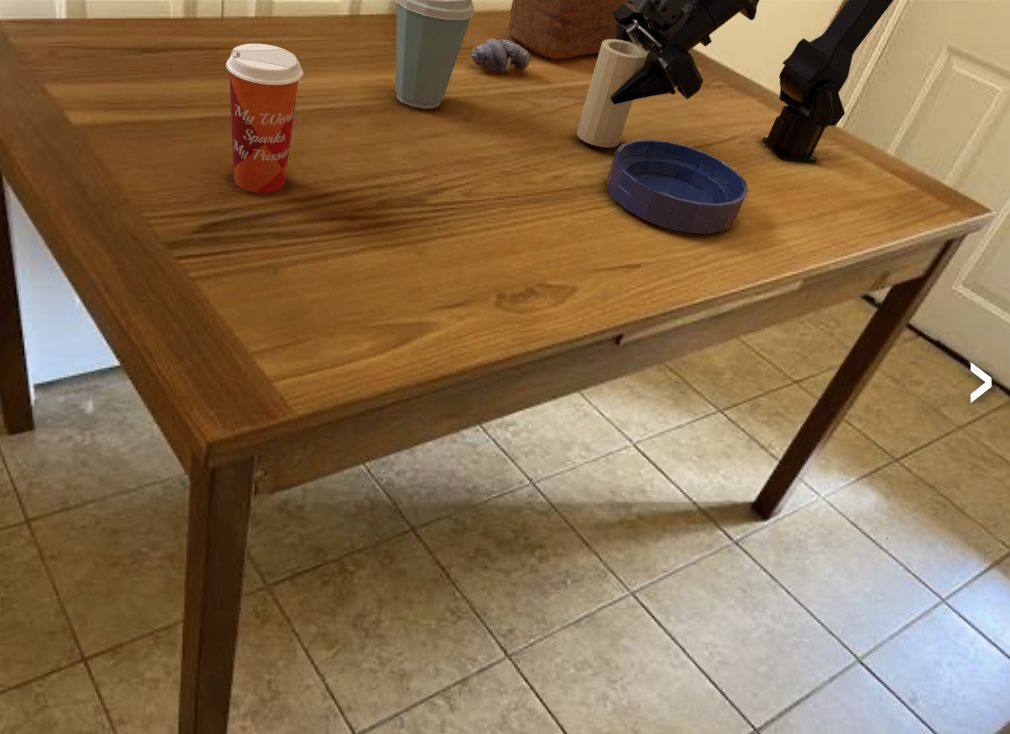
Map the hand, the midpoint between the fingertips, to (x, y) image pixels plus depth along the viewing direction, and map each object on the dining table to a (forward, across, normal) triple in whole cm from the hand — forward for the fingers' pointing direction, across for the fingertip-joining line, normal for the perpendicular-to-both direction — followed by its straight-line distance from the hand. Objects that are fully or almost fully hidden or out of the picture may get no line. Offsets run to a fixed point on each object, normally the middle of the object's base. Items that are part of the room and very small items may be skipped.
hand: (602, 90), depth 119 cm
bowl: (+2, +16, +9) cm, 19 cm away
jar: (+4, 0, +6) cm, 7 cm away
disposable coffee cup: (+21, -11, -10) cm, 26 cm away
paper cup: (+38, +14, -28) cm, 50 cm away
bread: (-4, -39, +15) cm, 42 cm away
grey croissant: (+9, -24, +1) cm, 26 cm away
